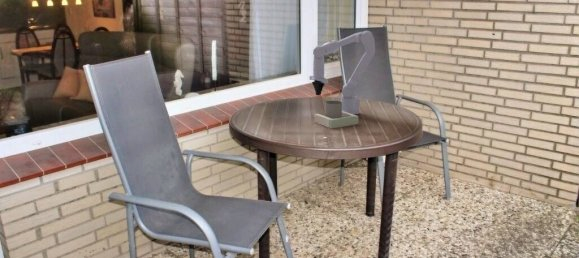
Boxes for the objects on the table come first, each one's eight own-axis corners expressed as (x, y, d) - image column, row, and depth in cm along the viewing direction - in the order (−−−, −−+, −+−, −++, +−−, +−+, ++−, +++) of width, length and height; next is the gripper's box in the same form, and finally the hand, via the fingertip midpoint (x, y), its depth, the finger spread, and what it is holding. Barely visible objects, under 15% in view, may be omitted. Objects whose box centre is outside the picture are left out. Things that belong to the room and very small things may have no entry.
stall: (340, 117, 246) (340, 110, 245) (358, 124, 235) (358, 116, 234) (314, 122, 238) (314, 114, 237) (331, 128, 227) (331, 120, 226)
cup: (340, 124, 233) (340, 104, 231) (323, 123, 235) (323, 103, 233) (342, 120, 241) (343, 100, 239) (326, 119, 243) (326, 100, 240)
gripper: (304, 68, 256) (304, 93, 259) (320, 71, 244) (319, 98, 247) (315, 67, 259) (315, 92, 263) (331, 70, 247) (331, 96, 251)
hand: (318, 95), depth 255 cm, fingers closed
